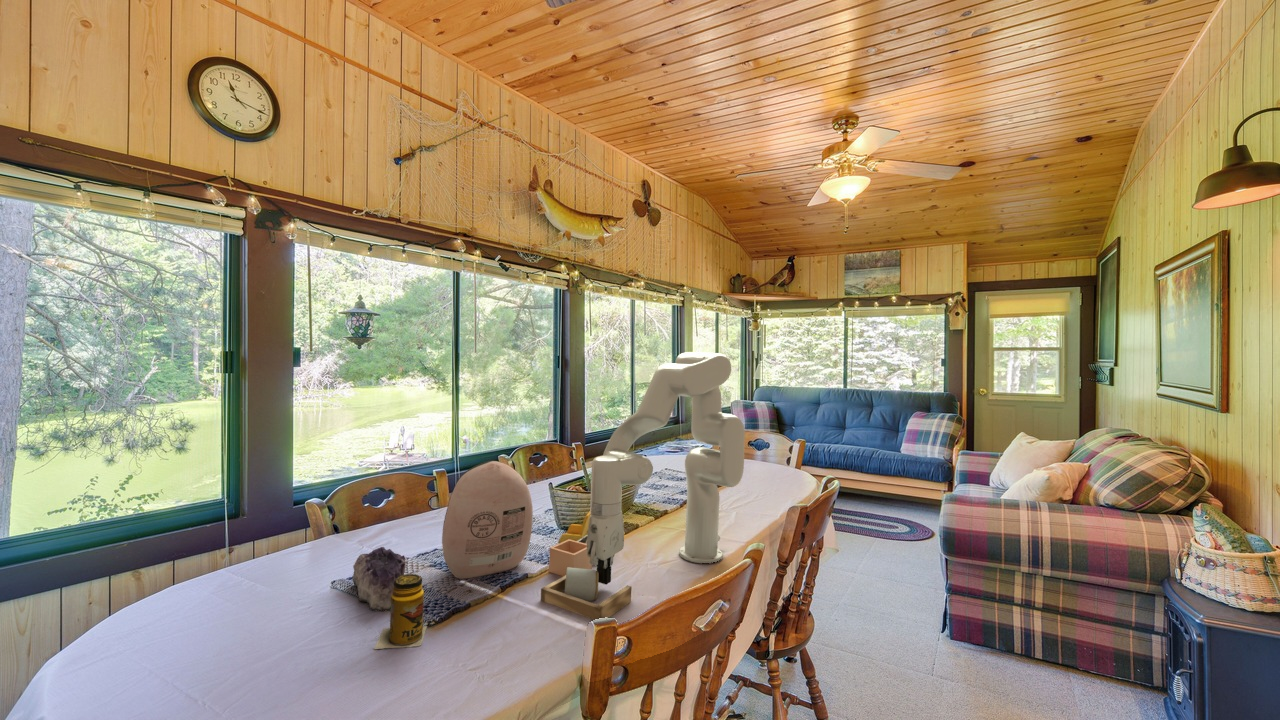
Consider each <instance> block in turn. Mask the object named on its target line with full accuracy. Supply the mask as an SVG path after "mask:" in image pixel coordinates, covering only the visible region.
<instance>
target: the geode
mask: <svg viewBox="0 0 1280 720" xmlns="http://www.w3.org/2000/svg"><path fill="white" fill-rule="evenodd" d="M406 567H407V566H406V556H405V555H401V554H399V553H397V552H396V553H395V552H394V551H393V550H392V549H391V548H388V549H386V548H385V547H384V546H381V547H378V548H376V549H375V548H374V549H373V550H372V551H371V552H369V553H362V554H360V555H358V557H357V559H356V560H355V562H354V564H353V573H352V574H353V576H352V582H353V585H355V586H356V587H357V595H358V601H359V602H363V603H364V602H366V603H367V604H368V605H369V608H370V609H369V610H370V611H372V612H383V613H384V612H389V611H390V612H391V595H392V593H393V588H394V581H395V579H396V578H398V577H400V576H403V575H405V574H406V573H405V572H406Z"/></svg>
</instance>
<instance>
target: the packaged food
mask: <svg viewBox="0 0 1280 720" xmlns="http://www.w3.org/2000/svg"><path fill="white" fill-rule="evenodd" d="M533 511H534V509H533V501H532V496H531V492H530V489H529V487H528V484H527V482H526V481H525V480H524V478H523V476H522V475H520V473H519V472H518V471H516V470H515V469H514V468H513V467H511V466H510V465H508V464H506V463H505V462H501V461H498V460H488V461H487V460H486V461H483V462H481V463H478V464H477V465H474V466H472V467H470V468H469V469H467V470H466V471H464V472H463V474H461V475H460V477H459V478H458V480H457V481H456V483H455V485H454V488H453V490H452V492H451V494H450V497H449V500H448V504H447V508H446V512H445V515H444V520H443V526H442V535H441V545H442V553H443V554H442V555H443V559H444V562H445V564H446V566H447V568H448V570H449V571H450V573H451V574H452V575H453V576H454V577H456V579H460V580H462V579H463V580H464V579H465V580H466V579H471V578H476V577H484V576H489V575H493V574H498V573H502V572H505V571H506V572H507V571H509V570H512V569H514V568H516V567H517V566H519V564H520V563H522V561H523V560H524V559H525V556H527V552H528V551H529V547H530V543H531V537H532V532H533V531H532V530H533V515H534V514H533V513H534V512H533Z"/></svg>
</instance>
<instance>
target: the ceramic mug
mask: <svg viewBox="0 0 1280 720" xmlns="http://www.w3.org/2000/svg"><path fill="white" fill-rule="evenodd" d="M598 580H599V573H598V572H597V569H593V568H592V569H581V568H571V567H567V571H566V581H565V590H564V592H563V593H564V594H567V595H570V596H573V597H576V598H579V599H582V600H585V601H588V602H591V601H592V602H593V601H596V600H597V599H598V593H599V582H598Z"/></svg>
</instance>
